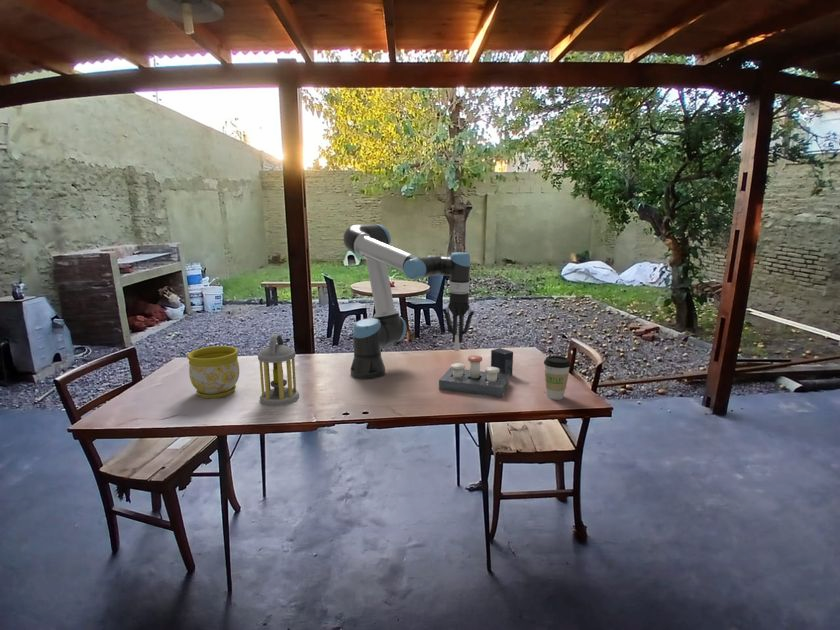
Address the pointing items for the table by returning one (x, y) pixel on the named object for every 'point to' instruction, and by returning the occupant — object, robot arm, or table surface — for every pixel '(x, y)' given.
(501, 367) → the box
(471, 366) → the knob mid
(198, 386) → the flowerpot
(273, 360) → the lantern
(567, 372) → the coffee cup
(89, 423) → the table surface
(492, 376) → the knob
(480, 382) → the mount
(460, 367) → the knob
